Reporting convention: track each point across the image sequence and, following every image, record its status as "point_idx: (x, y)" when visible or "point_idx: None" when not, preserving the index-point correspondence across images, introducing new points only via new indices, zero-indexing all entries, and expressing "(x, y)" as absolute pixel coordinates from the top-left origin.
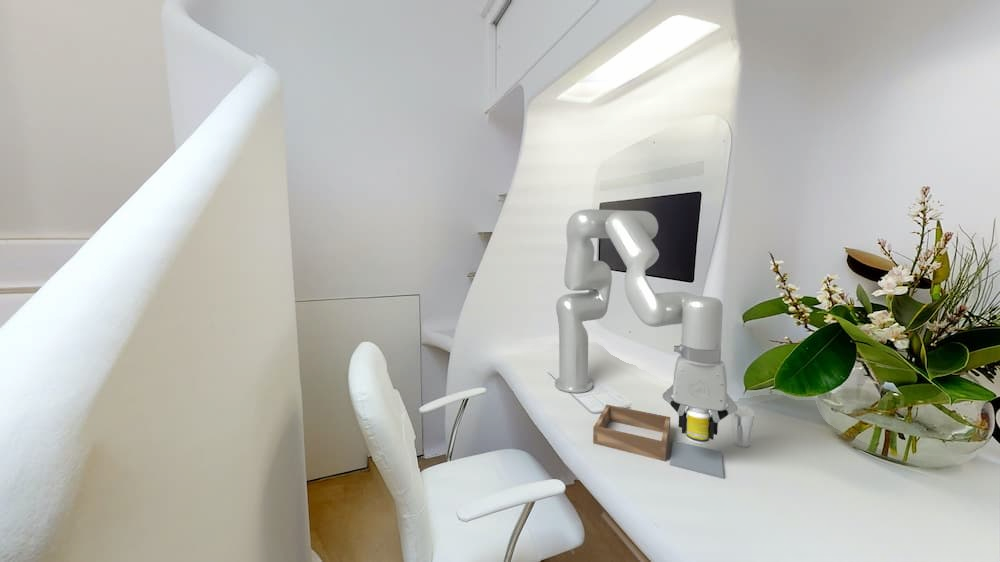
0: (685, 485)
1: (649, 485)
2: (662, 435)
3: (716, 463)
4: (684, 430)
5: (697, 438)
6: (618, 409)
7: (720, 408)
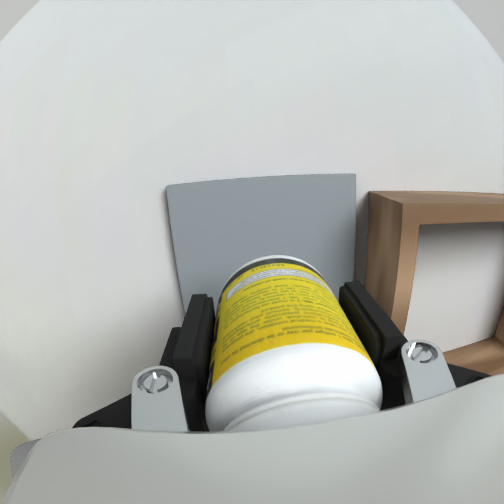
0: (287, 70)
1: (386, 29)
2: (413, 276)
3: (196, 262)
4: (349, 291)
5: (274, 264)
6: (500, 364)
7: (61, 444)
